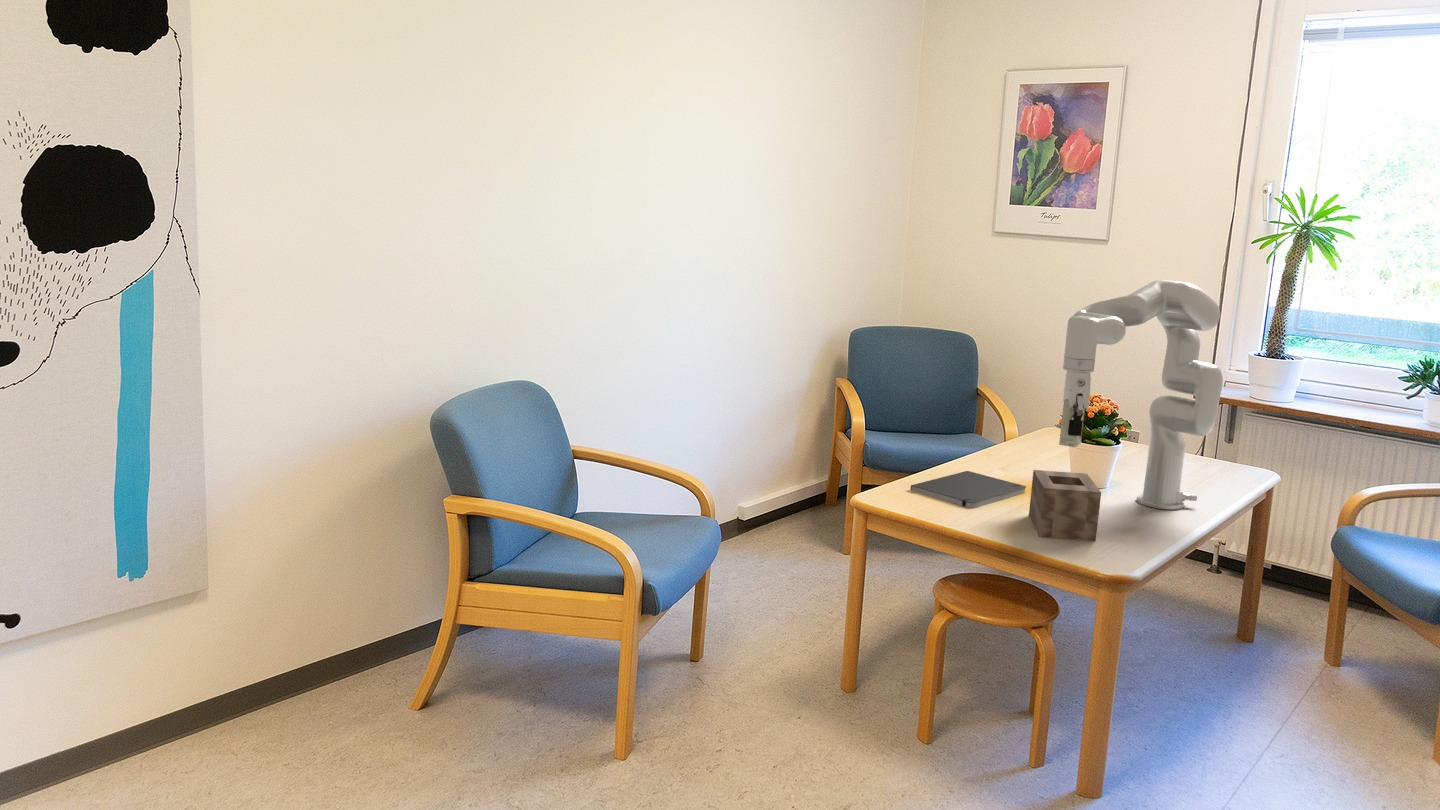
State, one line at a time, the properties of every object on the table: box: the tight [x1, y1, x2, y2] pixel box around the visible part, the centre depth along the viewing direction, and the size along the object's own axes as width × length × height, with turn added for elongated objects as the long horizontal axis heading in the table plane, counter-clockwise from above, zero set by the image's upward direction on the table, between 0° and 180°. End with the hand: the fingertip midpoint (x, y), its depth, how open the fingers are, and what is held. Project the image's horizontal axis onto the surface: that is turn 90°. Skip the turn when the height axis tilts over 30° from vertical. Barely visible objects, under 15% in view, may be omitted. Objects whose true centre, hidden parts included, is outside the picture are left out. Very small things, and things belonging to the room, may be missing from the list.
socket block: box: [1028, 469, 1102, 542], centre depth 271 cm, size 14×18×13 cm
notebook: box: [909, 470, 1027, 509], centre depth 303 cm, size 22×2×28 cm
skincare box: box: [1059, 398, 1086, 448], centre depth 266 cm, size 6×4×12 cm
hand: (1071, 431), depth 267 cm, fingers closed on skincare box, 7 cm apart
